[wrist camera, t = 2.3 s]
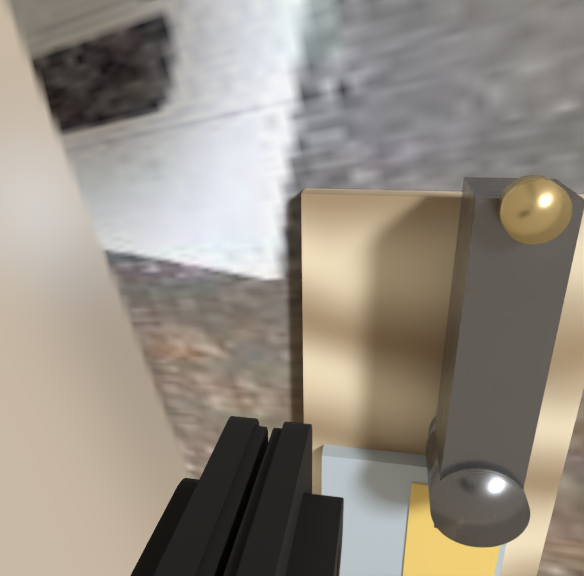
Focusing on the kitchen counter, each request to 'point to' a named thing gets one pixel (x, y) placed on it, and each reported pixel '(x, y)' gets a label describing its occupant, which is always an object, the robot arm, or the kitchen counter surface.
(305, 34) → the kitchen counter surface
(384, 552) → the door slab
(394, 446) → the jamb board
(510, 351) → the latch bar
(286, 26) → the kitchen counter surface
